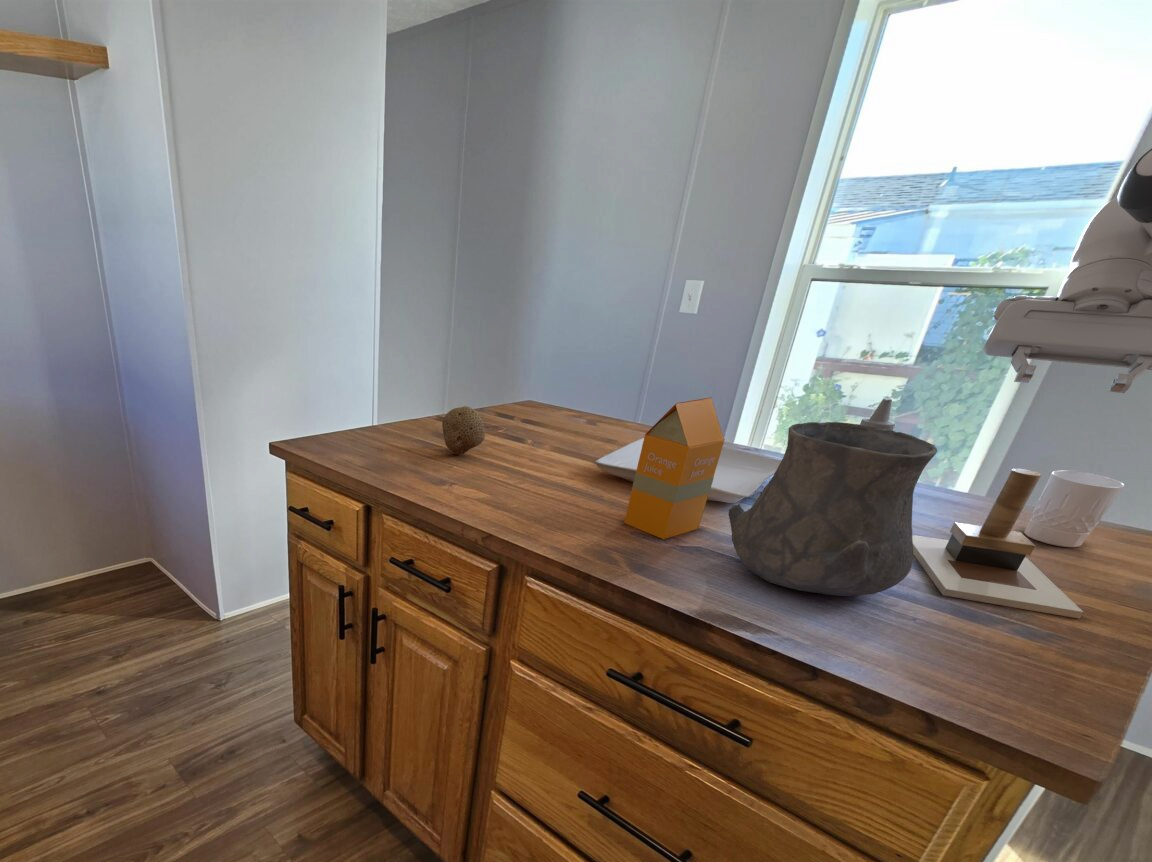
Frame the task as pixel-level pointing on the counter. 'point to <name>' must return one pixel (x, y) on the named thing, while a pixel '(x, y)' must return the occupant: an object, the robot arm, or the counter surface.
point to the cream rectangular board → (991, 581)
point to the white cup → (1071, 507)
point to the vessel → (835, 511)
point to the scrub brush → (997, 528)
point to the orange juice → (676, 470)
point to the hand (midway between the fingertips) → (1069, 384)
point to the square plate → (731, 478)
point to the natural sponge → (463, 429)
